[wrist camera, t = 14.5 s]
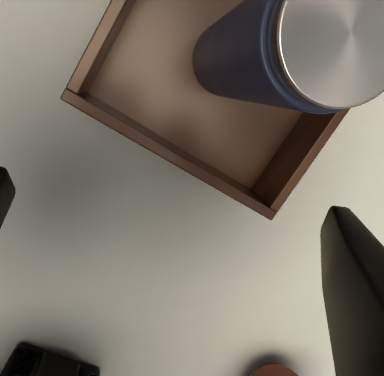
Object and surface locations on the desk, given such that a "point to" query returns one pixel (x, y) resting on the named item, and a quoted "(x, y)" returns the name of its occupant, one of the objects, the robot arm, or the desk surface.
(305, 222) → the desk surface
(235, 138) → the desk bin
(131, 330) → the desk surface
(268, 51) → the can
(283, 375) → the figurine character
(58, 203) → the desk surface
